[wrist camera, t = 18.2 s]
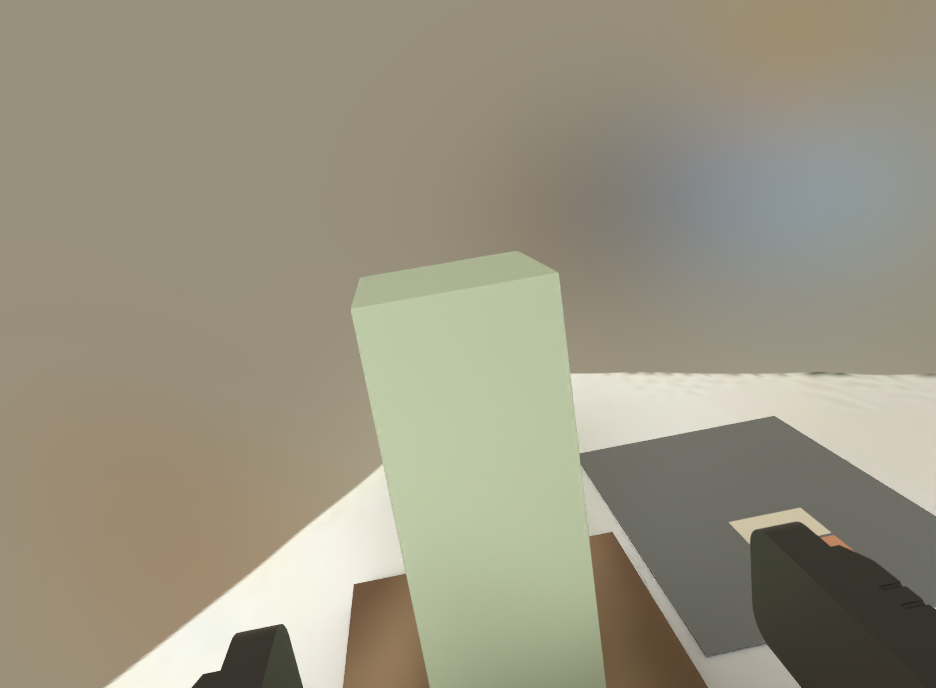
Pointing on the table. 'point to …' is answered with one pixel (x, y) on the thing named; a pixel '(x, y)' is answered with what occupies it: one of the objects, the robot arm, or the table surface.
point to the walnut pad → (619, 613)
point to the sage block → (484, 469)
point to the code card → (750, 516)
